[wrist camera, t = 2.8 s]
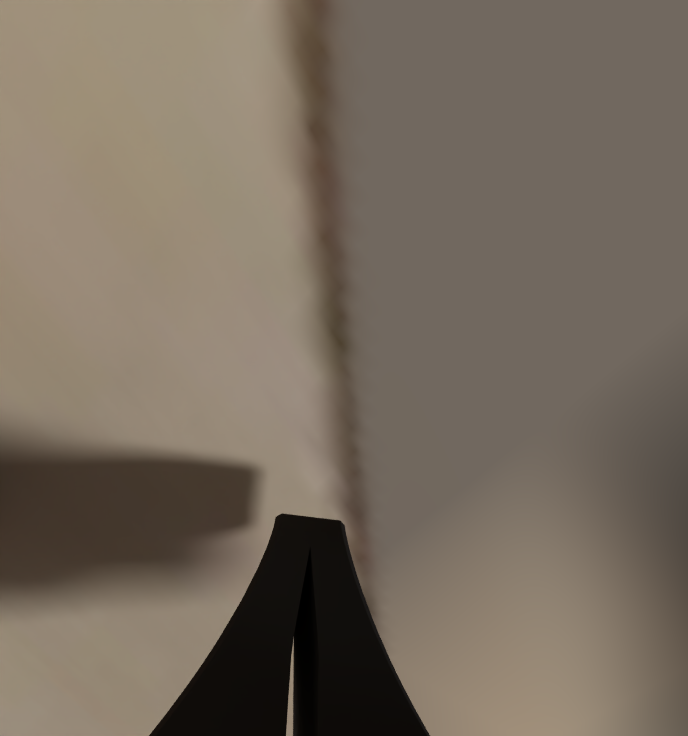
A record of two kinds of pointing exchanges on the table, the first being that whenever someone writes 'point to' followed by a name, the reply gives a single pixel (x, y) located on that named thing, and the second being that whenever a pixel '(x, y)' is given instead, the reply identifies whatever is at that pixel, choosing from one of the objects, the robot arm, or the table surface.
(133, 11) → the table surface
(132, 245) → the table surface
